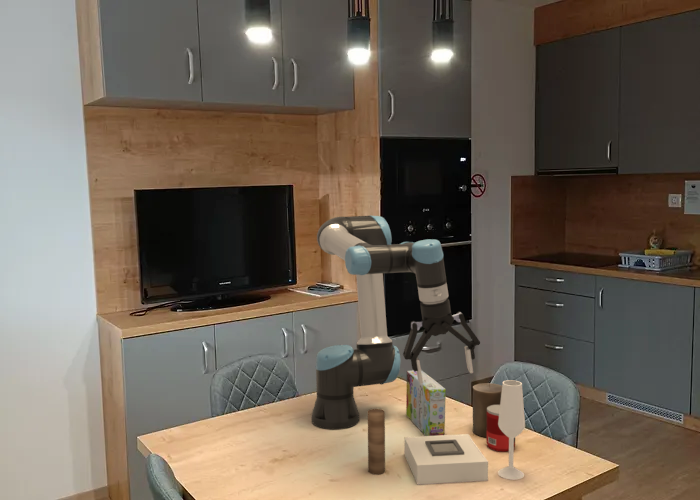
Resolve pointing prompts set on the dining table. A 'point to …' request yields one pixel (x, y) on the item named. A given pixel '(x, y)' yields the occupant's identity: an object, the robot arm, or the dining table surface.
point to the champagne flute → (511, 422)
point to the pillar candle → (484, 405)
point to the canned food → (496, 431)
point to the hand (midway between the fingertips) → (445, 376)
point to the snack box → (426, 404)
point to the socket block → (445, 459)
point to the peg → (376, 441)
